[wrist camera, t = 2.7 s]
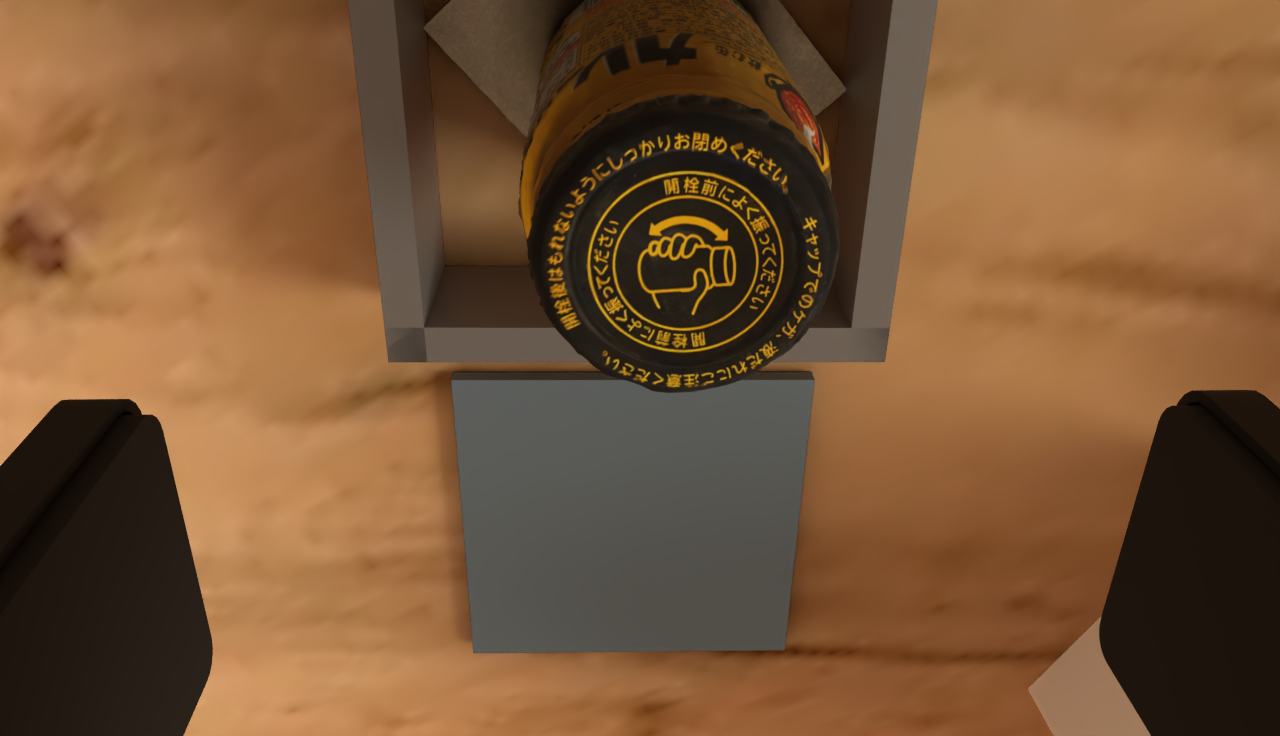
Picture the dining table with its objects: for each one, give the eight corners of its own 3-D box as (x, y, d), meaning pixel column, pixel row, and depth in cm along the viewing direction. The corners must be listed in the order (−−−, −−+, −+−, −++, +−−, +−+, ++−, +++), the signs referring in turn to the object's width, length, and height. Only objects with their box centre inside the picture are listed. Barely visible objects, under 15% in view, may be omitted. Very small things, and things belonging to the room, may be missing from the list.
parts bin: (359, -259, 24) (317, -270, 20) (921, -248, 24) (975, -256, 21) (413, 297, 31) (388, 362, 27) (852, 298, 31) (884, 362, 27)
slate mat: (453, 372, 32) (451, 380, 31) (811, 371, 32) (814, 380, 32) (474, 643, 37) (473, 652, 37) (782, 640, 37) (784, 650, 37)
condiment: (639, 255, 30) (658, 503, 19) (423, 26, 27) (306, 173, 16) (846, 87, 28) (994, 263, 17) (638, -185, 25) (665, -173, 14)
